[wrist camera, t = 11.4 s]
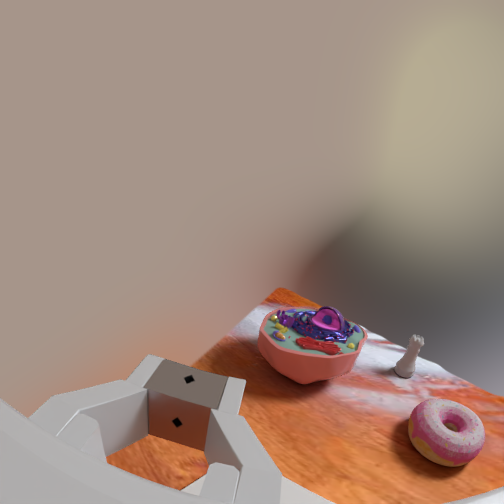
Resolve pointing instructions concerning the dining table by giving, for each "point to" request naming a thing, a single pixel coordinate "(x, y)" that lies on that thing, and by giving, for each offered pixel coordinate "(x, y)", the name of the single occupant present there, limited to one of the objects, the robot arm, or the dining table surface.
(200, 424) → the robot arm
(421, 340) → the rook chess piece
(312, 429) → the dining table surface
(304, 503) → the grey mat
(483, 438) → the donut
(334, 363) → the cell model
